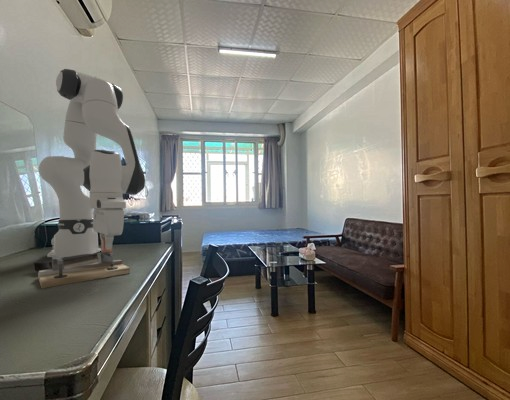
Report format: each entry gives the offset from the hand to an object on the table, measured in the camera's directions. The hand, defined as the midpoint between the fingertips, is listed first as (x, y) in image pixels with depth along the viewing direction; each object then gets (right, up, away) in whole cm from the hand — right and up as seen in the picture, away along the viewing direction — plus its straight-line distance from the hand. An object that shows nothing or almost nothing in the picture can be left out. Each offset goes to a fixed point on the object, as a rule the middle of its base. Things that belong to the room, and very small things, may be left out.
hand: (106, 248), depth 81 cm
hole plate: (-3, -7, -6) cm, 9 cm away
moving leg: (+2, -4, -2) cm, 5 cm away
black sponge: (-15, -8, +5) cm, 17 cm away
